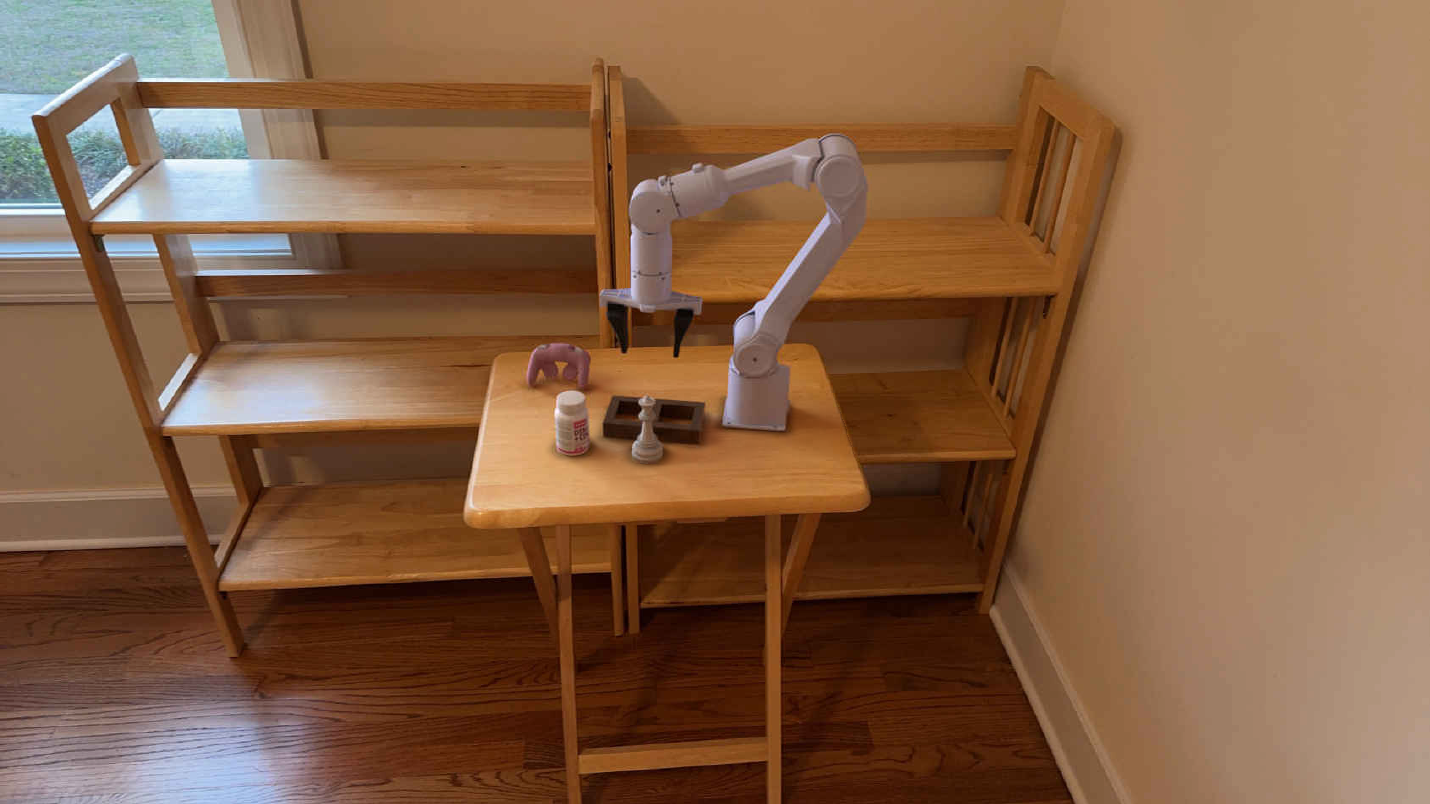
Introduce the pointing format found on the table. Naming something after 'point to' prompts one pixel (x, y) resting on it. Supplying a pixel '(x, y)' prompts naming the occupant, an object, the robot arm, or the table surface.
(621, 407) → the stand
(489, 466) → the table surface
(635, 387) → the table surface
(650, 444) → the chess piece
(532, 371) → the video game controller
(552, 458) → the table surface
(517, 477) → the table surface
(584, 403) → the pill bottle
